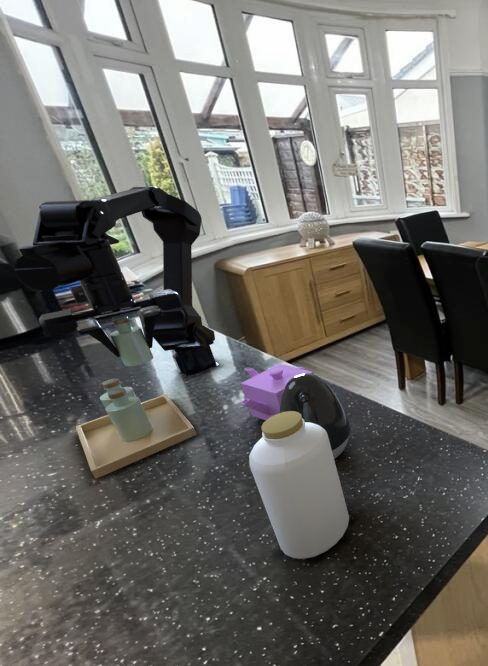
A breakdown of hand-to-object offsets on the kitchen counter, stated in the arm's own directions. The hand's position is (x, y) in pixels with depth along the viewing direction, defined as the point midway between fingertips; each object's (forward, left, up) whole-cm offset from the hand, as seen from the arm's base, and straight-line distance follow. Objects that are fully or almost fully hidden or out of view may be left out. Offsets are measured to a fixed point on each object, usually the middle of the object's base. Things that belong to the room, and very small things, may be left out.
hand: (135, 351), depth 76 cm
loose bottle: (0, 0, -2) cm, 2 cm away
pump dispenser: (-13, +42, -12) cm, 46 cm away
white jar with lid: (-5, +56, -12) cm, 58 cm away
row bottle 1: (+5, +5, -11) cm, 13 cm away
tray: (+5, +10, -12) cm, 17 cm away
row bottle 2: (+5, +10, -11) cm, 16 cm away
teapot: (-14, +26, -12) cm, 32 cm away
